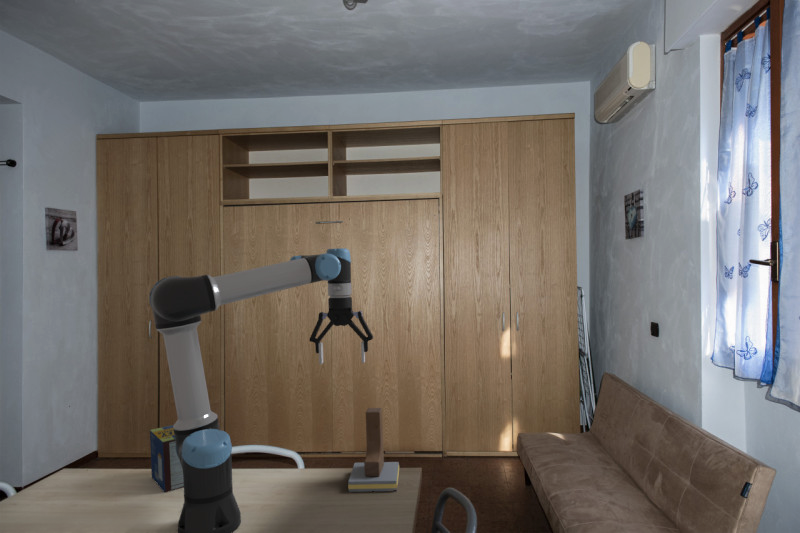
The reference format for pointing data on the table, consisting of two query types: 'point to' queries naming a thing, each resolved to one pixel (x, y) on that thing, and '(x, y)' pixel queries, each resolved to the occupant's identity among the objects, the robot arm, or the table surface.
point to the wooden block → (374, 443)
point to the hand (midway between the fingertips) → (342, 362)
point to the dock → (374, 478)
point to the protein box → (165, 459)
